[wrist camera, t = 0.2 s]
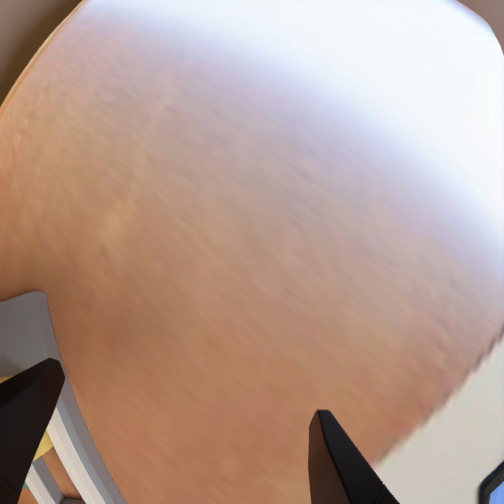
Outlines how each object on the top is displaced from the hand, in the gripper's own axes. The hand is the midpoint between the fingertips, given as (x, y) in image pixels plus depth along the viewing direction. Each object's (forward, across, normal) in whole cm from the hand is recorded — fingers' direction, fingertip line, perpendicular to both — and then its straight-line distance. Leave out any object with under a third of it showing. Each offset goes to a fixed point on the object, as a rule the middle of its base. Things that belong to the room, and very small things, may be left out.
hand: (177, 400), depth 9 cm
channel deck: (+6, +17, +18) cm, 25 cm away
